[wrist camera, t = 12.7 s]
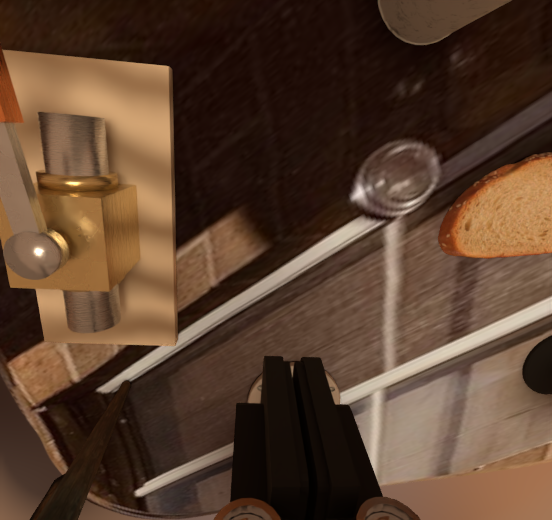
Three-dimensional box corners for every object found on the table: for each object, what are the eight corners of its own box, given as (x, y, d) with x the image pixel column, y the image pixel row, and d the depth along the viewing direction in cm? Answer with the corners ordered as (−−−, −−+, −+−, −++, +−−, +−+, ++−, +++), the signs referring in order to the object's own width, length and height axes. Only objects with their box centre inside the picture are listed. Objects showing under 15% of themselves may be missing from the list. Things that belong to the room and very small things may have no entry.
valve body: (143, 307, 39) (110, 357, 30) (70, 305, 38) (15, 355, 29) (132, 121, 32) (86, 114, 23) (44, 113, 32) (-38, 103, 23)
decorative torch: (127, 352, 42) (-122, 774, 14) (165, 386, 44) (14, 812, 16) (89, 381, 43) (-214, 827, 15) (128, 412, 46) (-75, 856, 17)
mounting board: (177, 339, 42) (175, 345, 41) (52, 335, 41) (44, 342, 40) (172, 69, 32) (168, 66, 31) (6, 53, 31) (-6, 48, 30)
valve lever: (74, 268, 27) (62, 277, 25) (28, 273, 27) (13, 282, 25) (1, 18, 21) (-21, 8, 19) (-59, 22, 21) (-86, 12, 19)
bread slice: (423, 239, 40) (439, 249, 37) (530, 98, 36) (560, 94, 32) (526, 305, 44) (549, 319, 41) (634, 186, 40) (671, 191, 36)
